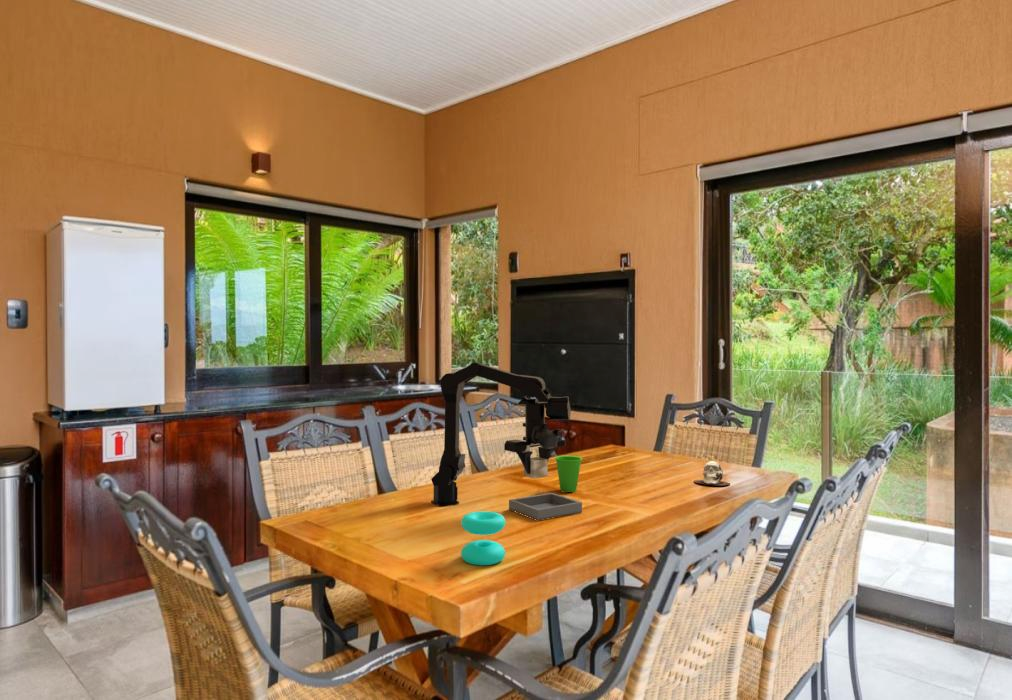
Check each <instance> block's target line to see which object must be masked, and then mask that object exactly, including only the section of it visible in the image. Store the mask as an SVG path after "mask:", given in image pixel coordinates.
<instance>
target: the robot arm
mask: <svg viewBox="0 0 1012 700" xmlns="http://www.w3.org/2000/svg"><path fill="white" fill-rule="evenodd" d="M476 377H479V378H483V379H485V380H487V381H491V382H495V383H497V384H502V385H505V386H508V387H510V388H512V389H514V390H516V391H518V392H519V393H521V394H523V395H524V396H523V397H522V398H521V399H520V401H519V402H518V403H517V405H522V406H523V405H524V417H525V418H524V419H525V420H524V421H525V422H522V427H524V428H525V436H523V437H522V440H521V439H520V440H519V439H511V440H510V439H509V440H506V441H505V443H504V444H503V445H504V448H503V449H504V451H508V452H512V453H516V454H517V456H518V458H519V460H520V461H521V463H522V466H523V469H524V468H525V470H526V472H527V474H530V470H531V463H530V458H532V457H531V456H532V454H533V453H534V452H533V451H532V450H531V448H534V447H535V448H536V447H537V450H538V457H539V458H544V459H547V462H549V459H550V457H551V456H552V453H554V452H555V451H557V450H558V448H560V447H566V439H565V436H563V430H561V429H560V428H557V429H553V430H549V424H548V423H546V419H545V415H546V417H547V418H549V420H550V421H570V419H571V412H572V411H571V404H570V400H569V399H570V397H569V396H561V397H559V396H552V395H551V393H550V392H549V391H548V390H547V388H546V383H545V380H544V379H543V378H541V377H540V376H534V375H533V376H532V375H523V374H516V373H513V372H510V371H506V370H502V369H499V368H497V367H493V366H490V365H487V364H483V363H482V362H480V361H475V362H474V361H473V362H471V363H470V364H469V365H467V366H465V367H463V368H461V369H459V370H457V371H454V372H447V373H445V374H444V375H442V376H441V378H440V381H439V383H440V391H441V396H442V399H443V401H444V444H443V445H444V446H443V448H444V449H443V451H442V455H441V458H440V462H439V468H438V472H437V473H436V474H435V475H434V476H433V477H432V478H431V482H432V486H433V499H431V500H430V502H431V504H435V505H436V506H439V507H446V506H452V505H457V504H460V502H459V501H458V495H459V494H458V489H459V488H458V486H457V482H456V481H457V479H458V477H459V476H460V475H461V474H462V473H463V472H464V468H466V464H465V461H466V454H465V453H461V450H460V407H461V406H460V404H461V403H460V402H461V399H462V396H463V393H464V389H465V384H466V383H468V382H470V381H472V380H473V379H475V378H476ZM528 397H529V398H528Z"/></svg>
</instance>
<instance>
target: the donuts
mask: <svg viewBox="0 0 1012 700" xmlns="http://www.w3.org/2000/svg"><path fill="white" fill-rule="evenodd" d="M460 522H461V527H462V528H463V530H464V531H466V533H470V534H472V535H475V536H477V535H479V536H488V535H489V536H490V535H493V534H497V533H499V532H501V531H502V530H503V529H504V528H505V526H506V518H505V517H504V516H503V515H502V514H501V513H499V512H498V513H497V512H496V511H495V512H494V511H489V510H488V511H487V510H483V511H482V510H481V511H479V510H478V511H473V512H469V513H467V514H465V515H464V516H463V517H462V518H461V521H460ZM460 555H461V559H462V560H464V562H466V563H468V564H471V565H474V566H492V565H495V564H498V563H500V562H501V561H503V560H504V559H505V556H506V551H505V548H504V546H503V545H502V544H500V543H499V542H497V541H494V540H489V539H479V540H473V541H470V542H469V543H468V542H467V544H465V545H464V546H463V547H462V549H461V552H460Z"/></svg>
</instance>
